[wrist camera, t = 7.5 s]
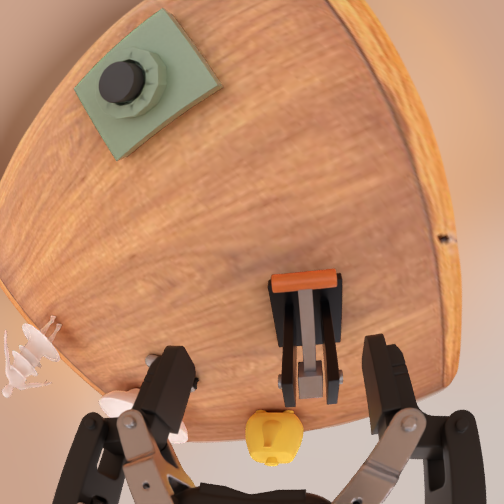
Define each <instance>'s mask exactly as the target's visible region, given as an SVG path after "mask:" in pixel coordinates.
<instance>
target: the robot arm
mask: <svg viewBox="0 0 504 504" xmlns="http://www.w3.org/2000/svg"><path fill="white" fill-rule="evenodd" d="M362 371H363V376H364V383H365V389H366V395H367V402H368V409H369V417H370V425H371V434H372V435H373V434H378V435H379V442H378V443H377V445H376V446H375V448H374V449H373V451H372V452H371V454H370V455H369V457H368V458H367V459H366V461H365V462H364V463H363V465H362V466H361V467H360V469H359V470H358V471H357V473H356V474H355V475H354V476H353V478H352V479H351V480H350V482H349V483H348V484H347V485H346V487H345V488H344V489H343V490H342V491H341V492H340V494H339V495H338V496H337V497H336V498H335V499H334V501H333V502H330V501H329V500H327V499H325V498H323V497H321V496H318V495H315V494H311V493H306V490H275V491H270V492H264V493H258V494H247V493H243V492H240V491H237V490H234V489H232V488H229V487H226V486H220V485H213V484H207V483H200V486H198V487H195V485H194V483H193V482H192V480H191V479H190V477H189V476H188V475H187V474H186V473H185V471H184V470H183V468H182V466H181V464H180V462H179V460H178V458H177V456H176V454H175V452H174V449H173V447H172V445H171V443H170V441H169V439H168V436H169V433H173V434H178V432H179V429H180V425H181V422H182V419H183V415H184V412H185V409H186V405H187V402H188V399H189V395H190V392H191V389H192V386H193V382H194V379H195V374H196V371H195V366H194V364H193V362H192V360H191V358H190V357H189V355H188V353H187V351H186V349H185V348H184V347H183V346H167V347H166V348H165V350H164V352H163V354H162V356H158V357H157V358H156V359H155V360H154V361H153V362H152V363H151V365H150V367H149V370H148V372H147V375H146V377H145V379H144V382H143V383H142V386H141V388H140V390H139V393H138V395H137V398H136V400H135V402H134V405H133V407H132V408H131V409H130V410H126V411H124V412H123V413H122V414H120V416H119V417H113V418H103V417H101V416H100V415H99V414H98V413H95V412H92V413H88V414H87V415H86V416H84V417H83V419H82V421H81V423H80V425H79V428H78V431H77V433H76V435H75V438H74V441H73V443H72V446H71V448H70V451H69V454H68V457H67V460H66V462H65V465H64V468H63V471H62V474H61V477H60V480H59V483H58V486H57V489H56V493H55V496H54V500H53V503H52V504H118V503H119V498H120V494H121V490H122V487H123V483H124V479H125V478H126V480H127V483H128V486H129V489H130V492H131V494H132V497H133V499H134V502H135V504H382V503H383V502H384V501H385V499H386V498H387V496H388V495H389V494H390V492H391V491H392V489H393V487H394V486H395V485H396V483H397V481H398V479H399V476H400V474H401V472H402V470H403V468H404V467H405V465H406V463H407V462H408V460H409V459H423V465H424V482H425V504H486V485H485V474H484V465H483V458H482V452H481V446H480V439H479V435H478V429H477V425H476V421H475V418H474V416H473V415H472V414H471V413H470V412H469V411H466V410H458V411H455V412H454V413H452V414H451V415H450V416H431V415H427V414H425V413H423V412H422V411H421V410H420V409H419V407H418V406H417V403H416V400H415V396H414V392H413V388H412V384H411V380H410V377H409V373H408V370H407V366H406V365H405V360H404V356H403V353H402V352H401V350H400V349H399V348H398V347H397V346H396V345H395V344H392V345H386V342H385V339H384V336H383V334H376V335H369V336H365V340H364V347H363V354H362ZM102 448H104V451H103V454H102V458H101V461H100V464H99V467H98V470H97V463H98V460H99V457H100V454H101V451H102Z"/></svg>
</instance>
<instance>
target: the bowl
mask: <svg viewBox="0 0 504 504" xmlns="http://www.w3.org/2000/svg"><path fill="white" fill-rule="evenodd" d="M139 390H140V389H138V388H134V389H131V390H129V391H127V392H125V391H112V392H109V393H107V394H105V395H103V396H102V397H101V398H100V400H99V405H100V407H101V409H102V410H103V411H104V412H105V413H106V414H107V415H108V416H109V417H110V418H113V417H119V416H120V414H122V413H123V412H124V411H126V410H130V409H131V408H132V407H133V405H134V402H135V400H136V398H137V395H138V393H139ZM168 439H169V441H170V443H171V444H178V443H184V442H186V441H187V440H188V433H187V429H186V427H185V425H184V423H183V421H182V422H181V425H180V429H179V432H178V434H173V433H169V436H168Z"/></svg>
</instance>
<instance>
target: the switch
mask: <svg viewBox="0 0 504 504" xmlns="http://www.w3.org/2000/svg"><path fill="white" fill-rule="evenodd" d="M271 284H272V291H273V293H279V292H291V291H298V297H299V308H300V320H301V333H302V347H303V362H298V386H299V399H306V398H319V397H323V372H322V361H321V360H319V361H316V347H315V326H314V309H313V295H312V289H322V288H332V287H337V275H336V270H335V269H326V270H316V271H306V272H296V273H285V274H274V275H272V277H271Z"/></svg>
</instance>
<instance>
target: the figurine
mask: <svg viewBox="0 0 504 504" xmlns="http://www.w3.org/2000/svg"><path fill="white" fill-rule="evenodd" d="M50 318H51V319H50V321H49V322H48V323H47V324H46V325H45V326H44V327H43V328H42V329H41V330H40V331H39V330H37V329H36V328H35V327H33V326H32V325H30V324H26V323H24V324H23V325H22V329H23V332H24V334H25V333H26V334H25V336H26V338H27V337H28V338H27V339H28V343H27V344H26V345H25V346H22V345H19V348H20V350H21V353H20V354H19V353H18V352H16V351H12V354H13V356H14V363H13V366H12V365H10V360H9V351H8V346H7V341H6V339H7V331H6V330H5V333H4V349H5V350H4V351H5V356H6V376H7V377H8V379H9V384H8V385H6V386H5V387H4V388H3V390H2V393H3V395H4V396H5V397H6V398H9V397H10V396H11V394H12V391H13V388H14V387H15V388H18V389H19V390H25V389H27V388H31V387H41V386H46V385H49V384H51V383H52V382H49V383H47V380H46V381H45V383H29V384H24V382H25V381H26V379H25V378H26V377H28V376H30V375H33V376H37V372H36V370H35V369H34V368H35V367H36V366H38V367H41V364H40V359H41V358H42V357H43V356H44V355H45V356H44V357H46V356H47V357H46V358H47V359H49V360H51V361H55V362H57V361H59V360H60V357H59V354H58V352H57V350H56V349H55V347H54V346H53V345H52V342H53V340H54V338H55V335H56V333H57V332H58V331H59V330H60V328H61V326H62V324H56V329H55V331H54V332H53V333H52V334H51V335H50V336H49V338H48V339H47V338H46V337H45V336H44V334H45V333H46V331H47V330H48V328H49V326H50V324H51V323H53V322H54V319H55V318H56V316H53V315H51V316H50ZM29 332H30V333H29ZM56 353H57V354H56ZM50 358H51V359H50ZM53 359H56V360H53Z"/></svg>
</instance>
